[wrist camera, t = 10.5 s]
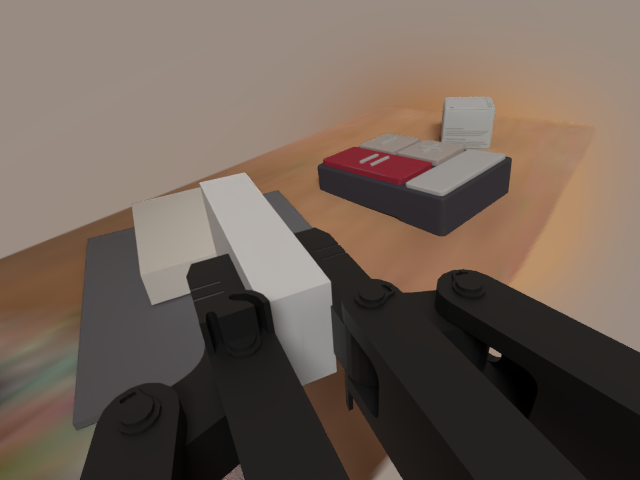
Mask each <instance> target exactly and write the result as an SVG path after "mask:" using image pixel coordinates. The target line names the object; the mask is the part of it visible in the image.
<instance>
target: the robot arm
mask: <svg viewBox="0 0 640 480" xmlns="http://www.w3.org/2000/svg"><path fill="white" fill-rule="evenodd" d="M199 184H200V188H201V192H202V196H203V201H204V205H205V209H206V213H207V217H208V221H209V226H210V230H211V234H212V238H213V242H214V246H215V251H216V254H217V257H214V258H210V259H207V260H203V261H200V262H196V263H193V264H191V265H190V268H189V271H188V273H187V276H186V279H187V282H188V286H189V289H190V292H191V296H192V299H193V303H194V306H195V310H196V313H197V317H198V320H199V325H200V329H201V332H202V335H203V339H204V342H205V350H204V354H203V356H202V358H201V360H200V362H199V364H198V365H197V366H196V367H195V368H194V369H193V370H192V371H191V372H190V373H189V374H188V375H186V376H185V377H184V378H182V379H181V380H179V381H178V382H176V383H175V384H173V385H172V386H168V385H165V384H162V383H144V384H141V385H138V386H135V387H132V388H130V389H128V390H126V391H125V392H123V393H122V394H120V395H118V396H117V397H115V399H114V400H113V401H112V402H111V403H110V404H109V405H108V406H107V407H106V408H105V409H104V410H103V412H102V414H101V416H100V418H99V420H98V422H97V425H96V428H95V431H94V435H93V438H92V441H91V445H90V448H89V451H88V455H87V458H86V461H85V465H84V468H83V471H82V475H81V478H80V480H222V479H223V478H224V477H225V476H226V475H227V474H229V473H230V472H231V471H232V470H233V469H234V468H235V467H237V466H238V465H239V464H240V465H241V468H242V472H243V475H244V478H245V480H350V479H349V477H348V475H347V473H346V471H345V469H344V467H343V465H342V463H341V461H340V459H339V458H338V456H337V454H336V452H335V450H334V448H333V446H332V444H331V442H330V440H329V438H328V436H327V434H326V432H325V430H324V428H323V426H322V424H321V422H320V420H319V418H318V416H317V414H316V412H315V410H314V408H313V406H312V404H311V402H310V400H309V398H308V397H307V395H306V393H305V391H304V389H303V387H302V386H303V385H306V384H308V383H311V382H313V381H316V380H318V379H321V378H323V377H325V376H328V375H330V374H333V373H335V372H337V369H336V357H337V359H338V360H339V362H340V363H341V365H342V366H343V368H344V370H345V388H346V403H347V406H348V409H349V411H350V410H352V409H353V399H354V400H355V402H356V404H357V405H358V407H359V408H360V410H361V412H362V413H363V415H364V417H365V418H366V420H367V422H368V423H369V425H370V426H371V428H372V430H373V431H374V433H375V435H376V436H377V438H378V440H379V441H380V443H381V444H382V446H383V448H384V449H385V451H386V453H387V454H388V456H389V458H390V459H391V461H392V462H393V464H394V466H395V467H396V469H397V471H398V472H399V474H400V476H401V477H402V479H403V480H640V352H638V351H636V350H634V349H632V348H630V347H628V346H626V345H624V344H622V343H620V342H618V341H616V340H614V339H612V338H610V337H608V336H606V335H604V334H602V333H600V332H598V331H596V330H594V329H592V328H590V327H588V326H586V325H584V324H582V323H580V322H578V321H576V320H574V319H572V318H570V317H568V316H566V315H565V314H563V313H561V312H558V311H557V310H554V309H553V308H551V307H548V306H547V305H545V304H543V303H541V302H539V301H537V300H535V299H533V298H531V297H529V296H527V295H525V294H523V293H521V292H519V291H517V290H515V289H513V288H511V287H509V286H507V285H505V284H503V283H501V282H499V281H497V280H495V279H493V278H491V277H489V276H487V275H485V274H482V273H480V272H477V271H472V270H464V269H462V270H452V271H450V272H447V273H445V274H443V275H442V276H441V277H440V278H439V279H438V282H437V289H436V290H433V291H423V292H413V293H402V292H401V291H400V290H399V289H398V288H397V287H395V286H394V285H393V284H391V283H389V282H386V281H383V280H380V279H371V278H370V277H369V276H368V275H367V274H366V273H365V272H364V271H363V270H362V268H361V267H360V266H359V265H358V264H357V263H356V262H355V261H354V260H353V259H352V258H351V257H350V256H349V255H348V253H345V250H344V249H343V248H342V247H341V246H340V245H338V243H337V242H336V241H335V240H334V238H333V237H332V236H331V235H330V234H328V233H326V232H324V231H322V230H319V229H317V228H311V229H308V230H304V231H301V232H297V233H294V234H293V233H292V232H291V230H290V229H289V228H288V226H287V225H286V224H285V223H284V221H283V220H282V219H281V218H280V216H279V215H278V214H277V212H276V211H275V210H274V209H273V207H272V206H271V205H270V204H269V202H268V201H267V200H266V198H265V197H264V196H263V195H262V193H261V192H260V191H259V190H258V188H257V187H256V186H255V184H254V183H253V182H252V181H251V179H250V178H249V177H248V175H247V174H246V173H245V172H244V173H240V174H235V175H231V176H227V177H222V178H218V179H213V180H209V181H204V182H200V183H199ZM490 347H491V348H493V349H495V350H496V351H498V352H499V353H501V354H502V356H501V357H495V356H493V355H491V354H490V353H489V348H490Z"/></svg>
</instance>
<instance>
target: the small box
mask: <svg viewBox="0 0 640 480" xmlns="http://www.w3.org/2000/svg"><path fill="white" fill-rule="evenodd" d="M494 115H495V106H494V103H493V101H492V98H491V97H446V98H445V99H444V107H443V115H442V126H441V142H444V143H450V144H456V145H462V146H464V149H489V148H490V142H491V136H492V129H493V122H494Z"/></svg>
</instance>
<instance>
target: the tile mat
mask: <svg viewBox="0 0 640 480" xmlns="http://www.w3.org/2000/svg"><path fill="white" fill-rule="evenodd" d="M262 195H263V196H264V197H265V198H266V200H267V201H268V202H269V204H270V205H271V206H272V207H273V209H274V210H275V211H276V212H277V214H278V215H279V216H280V218H281V219H282V220H283V221H284V223H285V224H286V225H287V226H288V228H289V229H290V230H291V232H292V233H293V234H294V233H297V232H301V231H304V230H308V229H311V228H312V227H311V226H310V225H309V223H308V222H307V221H306V220H305V219H304V218H303V217H302V216H301V215H300V214H299V212H298V211H297V210H296V209H295V208H294V207H293V206H292V205H291V204H290V203H289V202H288V200H287V199H286V198H285V197H284V196H283V195H282V194H281V193H280V192H279V191H278V190H277V191H273V192H269V193H265V194H262ZM204 350H205V342H204V339H203V335H202V332H201V329H200V325H199V320H198V317H197V313H196V310H195V306H194V303H193V299H192V296H191V293H189V294H186V295H183V296H180V297H176V298H173V299H170V300H167V301H164V302H161V303H157V304H154V305H152V304H151V301H150V299H149V296H148V294H147V291H146V288H145V286H144V283H143V280H142V278H141V275H140V267H139V259H138V251H137V243H136V235H135V227H133V228H129V229H125V230H121V231H117V232H113V233H109V234H105V235H101V236H97V237H93V238H90V239H88V242H87V254H86V266H85V279H84V291H83V304H82V316H81V328H80V341H79V353H78V366H77V378H76V390H75V403H74V415H73V425H74V427H75V428H76V430H78V429H81V428H83V427H86V426H89V425H91V424H94V423H96V422H98V420H99V418H100V416H101V414H102V412H103V410H104V409H105V408H106V407H107V406H108V405H109V404H110V403H111V402H112V401H113V400H114V399H115V397H117V396H118V395H120V394H122V393H123V392H125V391H126V390H128V389H130V388H132V387H135V386H138V385H141V384H144V383H162V384H165V385H168V386H172V385H173V384H175V383H176V382H178V381H179V380H181V379H182V378H184V377H185V376H186V375H188V374H189V373H190V372H191V371H192V370H193V369H194V368H195V367H196V366H197V365H198V364H199V362H200V360H201V358H202V356H203V354H204Z"/></svg>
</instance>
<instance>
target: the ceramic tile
mask: <svg viewBox="0 0 640 480" xmlns="http://www.w3.org/2000/svg"><path fill="white" fill-rule="evenodd" d="M132 210H133V218H134V227H135V235H136V243H137V251H138V259H139V267H140V275H141V278H142V280H143V283H144V286H145V288H146V291H147V294H148V296H149V299H150V301H151V304H152V305H154V304H157V303H161V302H164V301H167V300H170V299H173V298H176V297H180V296H183V295H186V294H189V293H191V292H190V289H189V286H188V282H187V279H186V276H187V273H188V271H189V268H190V265H191V264H193V263H196V262H200V261H203V260H207V259H210V258H214V257H217V254H216V251H215V246H214V242H213V238H212V234H211V230H210V226H209V221H208V217H207V213H206V209H205V205H204V201H203V196H202V192H201V188H200V187H199V188H195V189H191V190H186V191H182V192H178V193H174V194H170V195H165V196H161V197H157V198H153V199H149V200H145V201H141V202H137V203H132Z"/></svg>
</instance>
